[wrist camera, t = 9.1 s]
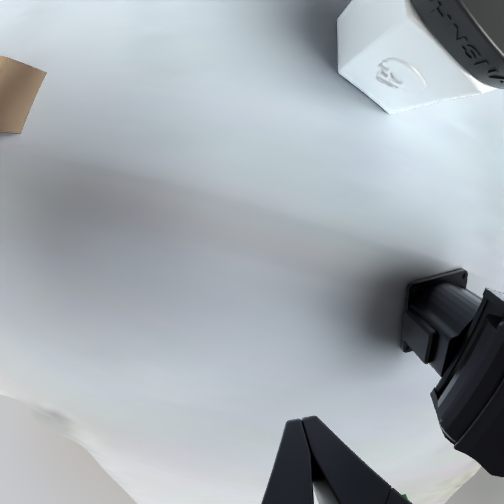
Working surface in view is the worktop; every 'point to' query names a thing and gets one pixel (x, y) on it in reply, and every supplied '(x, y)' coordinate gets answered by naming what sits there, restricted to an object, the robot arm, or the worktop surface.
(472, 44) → the jar
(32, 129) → the worktop surface
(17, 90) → the green and tan block
